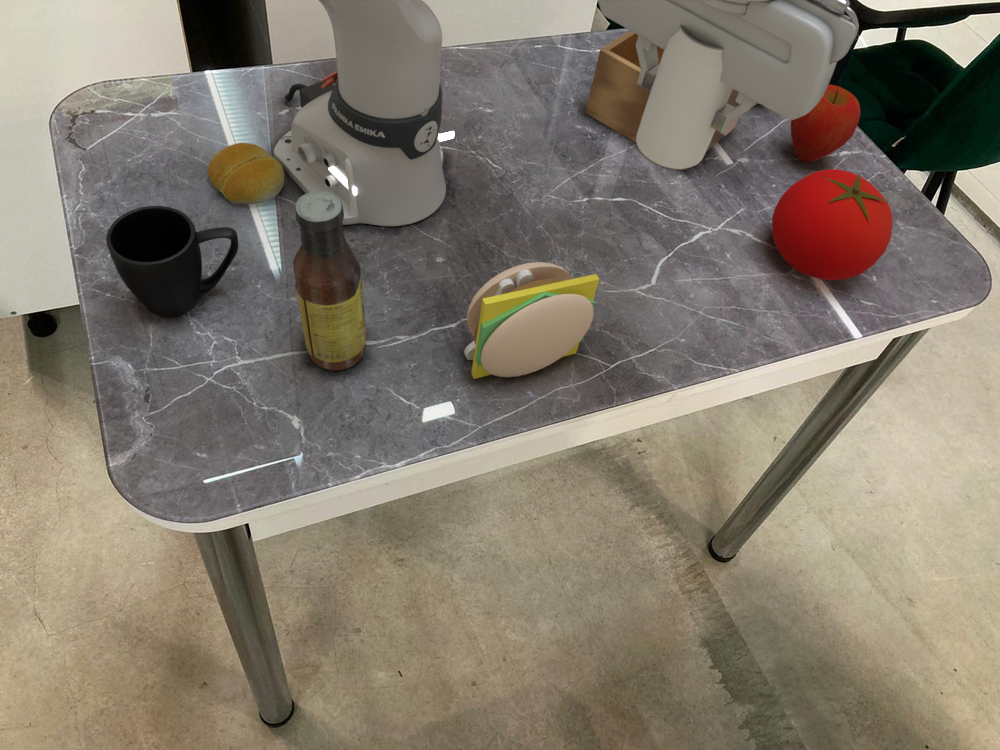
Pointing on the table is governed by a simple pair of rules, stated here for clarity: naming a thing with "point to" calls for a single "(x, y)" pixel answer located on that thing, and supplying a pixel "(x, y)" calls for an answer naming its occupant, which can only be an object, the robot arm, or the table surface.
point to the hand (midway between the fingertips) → (683, 106)
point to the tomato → (832, 225)
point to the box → (625, 89)
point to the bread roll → (246, 174)
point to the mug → (164, 258)
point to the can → (683, 103)
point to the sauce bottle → (328, 284)
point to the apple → (826, 125)
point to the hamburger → (528, 319)
